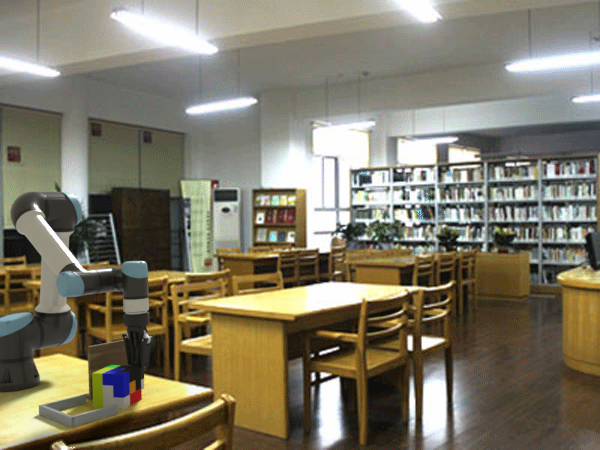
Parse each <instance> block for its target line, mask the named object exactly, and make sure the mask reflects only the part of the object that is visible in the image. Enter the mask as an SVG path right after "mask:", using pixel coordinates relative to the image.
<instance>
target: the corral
mask: <svg viewBox="0 0 600 450" xmlns="http://www.w3.org/2000/svg"><path fill="white" fill-rule="evenodd" d="M87 399H88V398H87V394H86V393H84V394H78V395H74V396H70V397H67V398H63V399H59V400H55V401H51V402H47V403H43V404H39V405H38V415H40V416H43V417H45V418H46V419H47V418H48V419H50V420H52V421H54V422H57V423H59V424H61V425H64V426H66V427H69V428H73V427H77V426H80V425H83V424H88V423H91V422H93V421H94V422H95V421H97V420H101V419H104V418H108V417H112V416H115V415H118V414H119V409H118V405H117V404H115V405H111V406H107V407H104V408H96V409H93V410H89V411H86V412H83V413H79V414H75V415H70V414H68V413H65V412H62V411H60V410H65V409H68V408H73V407H76V406H79V405H83V404H87V402H88V401H87Z"/></svg>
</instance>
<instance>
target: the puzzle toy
mask: <svg viewBox="0 0 600 450" xmlns="http://www.w3.org/2000/svg"><path fill="white" fill-rule="evenodd" d="M92 386H93V400H92V407H93V409H94V408H95V409H100V408H104V407H107V406H111V405H115V404H117V405H118V410H126V409H127V408H129V407H131V406H133V405H134V404H136V403H137V402H139V401H141V400H142V395H143V394H142V390H141V368H140V366H126V365H110V366H107V367H105V368H103V369H101V370H98V371H96V372H94V373H92Z"/></svg>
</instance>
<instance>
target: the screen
mask: <svg viewBox="0 0 600 450" xmlns="http://www.w3.org/2000/svg"><path fill="white" fill-rule="evenodd" d="M87 364H88V365H87V370H88V373H87V374H88V392H87V393H85V394H87V399H89V400H92V399H93V386H92V373H94V372H96V371H98V370H101V369H103V368H105V367H107V366H110V365H126V366H131V365H128V361H127V355H126V349H125V343H124V339H120V340H115V341H108V342H104V343H99V344H94V345H88V346H87ZM92 401H93V400H92Z"/></svg>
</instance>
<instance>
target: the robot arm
mask: <svg viewBox="0 0 600 450" xmlns="http://www.w3.org/2000/svg"><path fill="white" fill-rule="evenodd" d="M82 208H83V207H82V205H81V203H80V200H79V198H78V197H77V196H76V195H75V194H73V193H71V192H67V191H66V192H65V191H27V192H24V193H22V194H20V195H19V196H17V197H16V198H15V200H14V201H13V203H12V205H11V207H10V211H9V212H10V213H9V215H10V221H11V224H12V225H13V227H14V228H15V230H16V231H17V232H18V233H19V234H21V235H24V236H25V237H26V238H27V240H28V241H29V242H30V243H31V245H32V246H33V248H35V250H36V251H37V253H39V255H40V257H41V260H40V265H41V266H40V288H39V289H40V290H39V292H40V293H39V303H38V304H37V305H36V307H35V308H34V314H32V313H31V312H26V311H25V312H19V313H12V314H8V315H4V316H1V317H0V392H14V391H20V390H26V389H30V388H33V387H35V386H38V385H39V384H40V383H41V376H40V372H39V370H38V368H37V365H36V362H35V359H34V351H38V350H42V349H46V348H52V347H59V346H62V345H65V344H68V343H70V342H71V341H72V340H73V339H74V337H75V336H76V333H77V330H78V319H76V318H77V317H76V314H75V313H74V312H73V311H72V310H71V307H70V306H69V304H68V303H67V298H71V297H72V298H76V297H82V296H83V297H84V296H88V295H95V294H103V293H111V292H121V293H122V298H123V299H122V300H123V301H122V304H123V305H122V307H123V308H122V311H123V312H124V314H123V325H124V326H125V327H127V329H126V332H125V333H122V334H121V336H122V340H124V343H125V349H126V355H127V361H128V365H131V366H140V368H141V391H142V390H145V368H146V367H147V368H148V367H149V366H150V358H151V357H150V356H151V350H152V349H151V348H152V342H153V340H154V337H153V336H152V335H151V336H149V334H148V329H147V328H148V327H147V326H148V325H150V321H151V320H150V312H149V309H150V302H149V300H150V299H149V270H148V264H147V262H146V261H144V260H129V261H124V262H123V263H122V264H121V265H122V266H121V267H120V266H119V267H118V266H104V267H101V268H89V269H86V268H84V266H83V265H82V264H81V263H80V262H79V260H78V259H77V258H76V257H75V255H74V254H73V253H72V252H71V250H70V249H69V247H70V245H69V244H70V236H71V235H72V234H73V233H74V232H75V226H77V225H79V224H80V222H81V221H82V217H83V209H82Z"/></svg>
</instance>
